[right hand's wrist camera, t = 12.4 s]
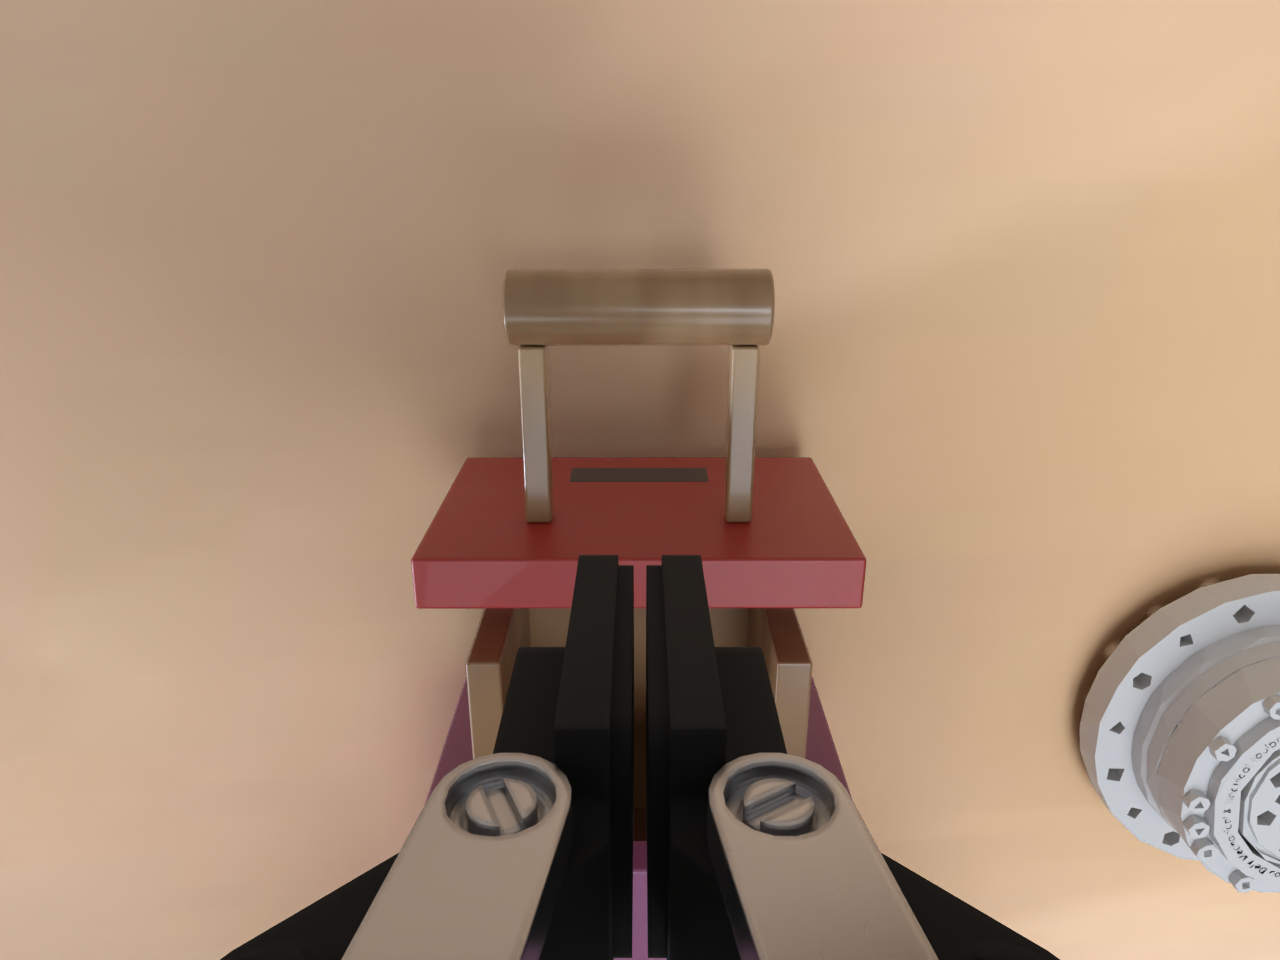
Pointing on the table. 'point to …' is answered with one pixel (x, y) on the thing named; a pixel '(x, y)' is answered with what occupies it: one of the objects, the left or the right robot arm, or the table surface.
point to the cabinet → (816, 751)
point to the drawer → (638, 502)
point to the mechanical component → (1196, 730)
